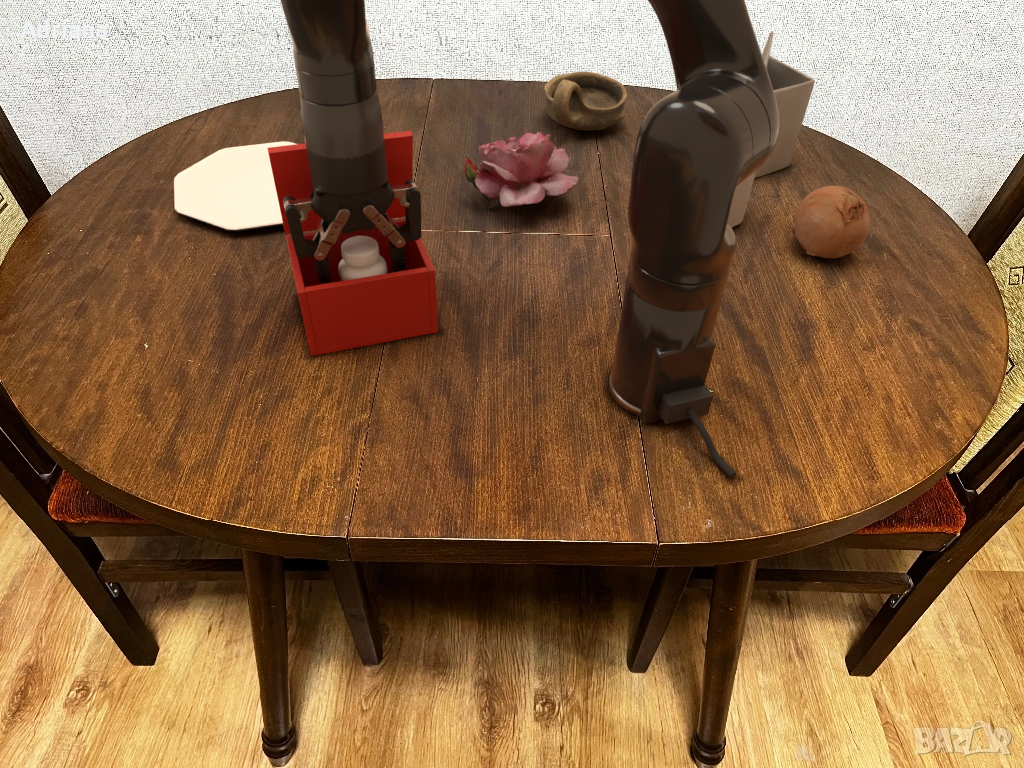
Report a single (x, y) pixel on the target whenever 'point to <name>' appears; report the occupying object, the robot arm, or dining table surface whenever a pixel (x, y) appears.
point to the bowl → (585, 100)
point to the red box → (366, 297)
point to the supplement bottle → (360, 259)
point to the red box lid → (297, 181)
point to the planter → (785, 108)
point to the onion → (831, 222)
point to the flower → (520, 170)
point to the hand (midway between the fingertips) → (363, 276)
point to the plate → (231, 189)
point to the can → (740, 201)
